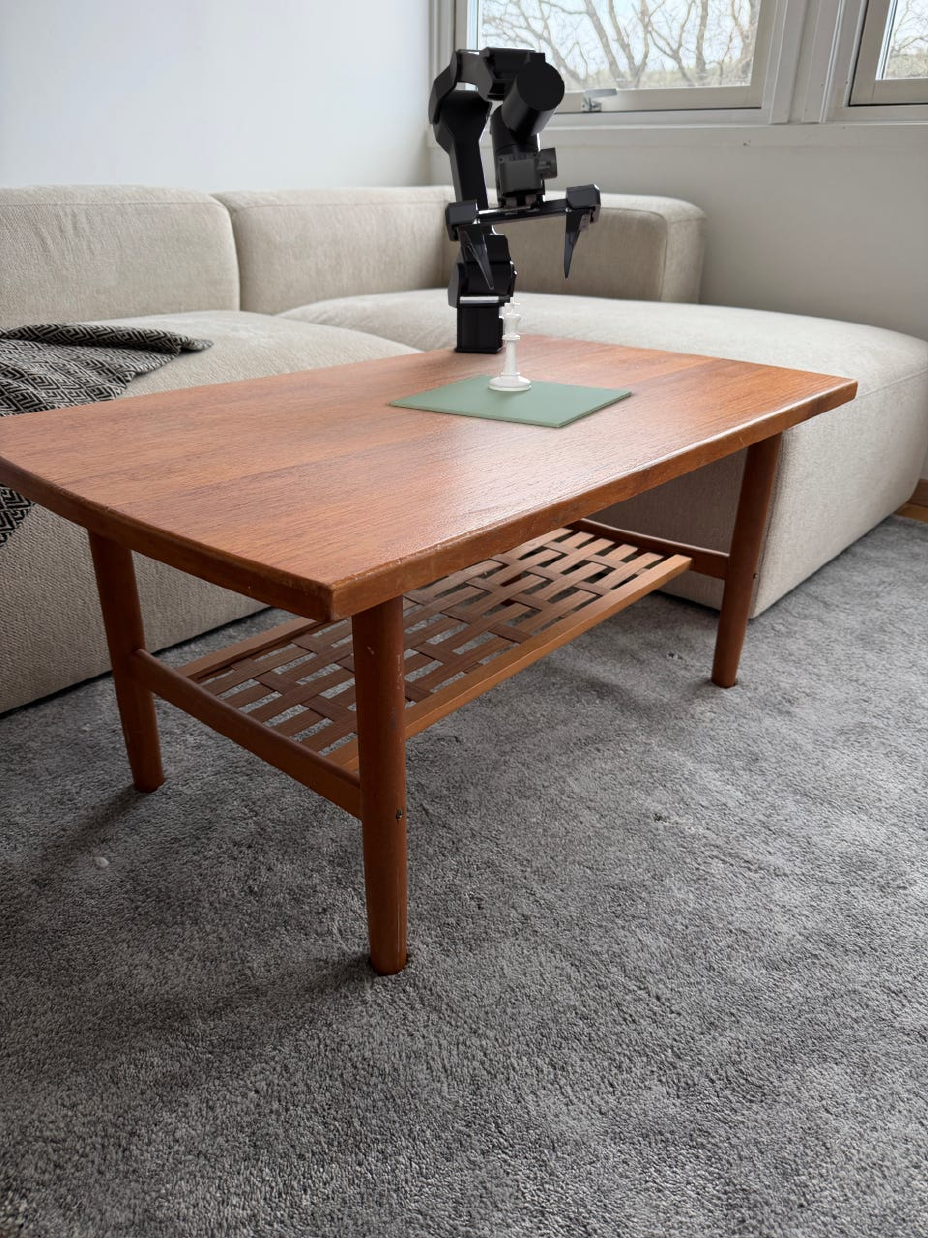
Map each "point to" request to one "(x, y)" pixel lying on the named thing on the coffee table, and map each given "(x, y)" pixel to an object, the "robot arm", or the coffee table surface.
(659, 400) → the coffee table surface
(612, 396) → the felt mat
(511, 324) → the chess piece
